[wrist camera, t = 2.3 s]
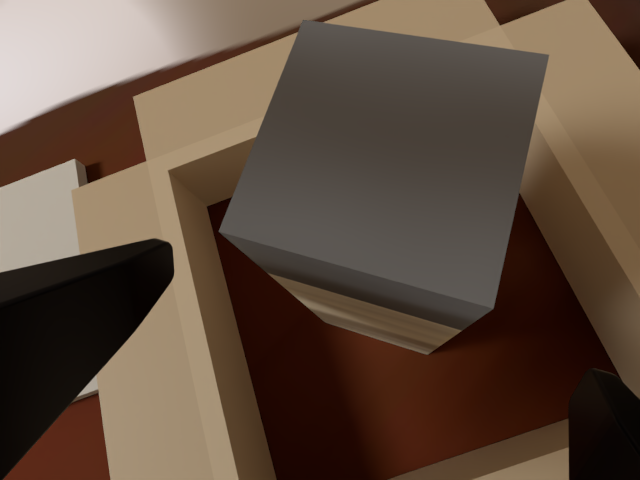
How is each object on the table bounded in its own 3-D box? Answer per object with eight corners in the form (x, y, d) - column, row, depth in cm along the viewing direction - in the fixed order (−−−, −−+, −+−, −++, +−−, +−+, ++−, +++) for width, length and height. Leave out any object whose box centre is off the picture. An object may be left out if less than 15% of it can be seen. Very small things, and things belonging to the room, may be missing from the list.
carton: (824, 483, 15) (972, 519, 11) (208, 681, 16) (151, 776, 12) (516, 11, 22) (541, -63, 19) (115, 165, 23) (62, 124, 20)
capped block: (427, 354, 18) (493, 308, 6) (325, 322, 19) (218, 231, 7) (452, 254, 19) (549, 54, 7) (354, 229, 20) (303, 19, 8)
